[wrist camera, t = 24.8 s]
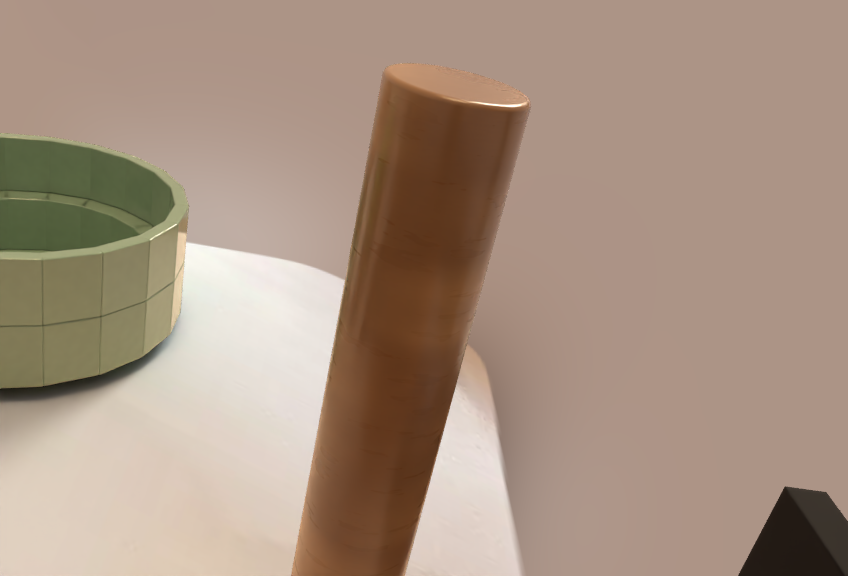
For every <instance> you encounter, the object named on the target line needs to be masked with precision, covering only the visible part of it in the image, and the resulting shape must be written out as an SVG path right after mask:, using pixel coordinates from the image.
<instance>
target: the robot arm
mask: <svg viewBox="0 0 848 576" xmlns="http://www.w3.org/2000/svg"><path fill="white" fill-rule="evenodd" d="M738 576H848V521H847V520H846V518H845V517H844V516H843V514H842V513H841V512H840V510H839V509H838V508H837V506H836V505H835V504H834V502H833V501H832V499H831V498H830V497H829V495H828V494H827V493H826V492H821V491H813V490H806V489H799V488H792V487H784V489H783V491H782V493H781V495H780V497H779V499H778V501H777V503H776V505H775V507H774V508H773V510H772V512H771V514H770V516H769V518H768V520H767V522H766V524H765V525H764V527H763V529H762V531H761V533H760V535H759V537H758V539H757V541H756V543H755V545H754V546H753V548H752V550H751V552H750V554H749V556H748V558H747V560H746V562H745V564H744V565H743V567H742V569H741V571H740V573H739V575H738Z"/></svg>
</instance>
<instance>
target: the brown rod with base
mask: <svg viewBox="0 0 848 576" xmlns="http://www.w3.org/2000/svg"><path fill="white" fill-rule="evenodd" d="M530 108H531V104H530V100H529V98H528V97H527V96H526V95H524V94H523V93H521V92H520V91H518V90H517V89H515V88H513V87H511V86H508V85H506V84H504V83H501V82H499V81H496V80H493V79H490V78H487V77H484V76H480V75H477V74H473V73H470V72H465V71H461V70H457V69H452V68H447V67H441V66H435V65H426V64H414V63H402V64H395V65H390V66H388V67H387V68H385V70H384V72H383V75H382V80H381V86H380V92H379V96H378V102H377V107H376V113H375V118H374V124H373V130H372V135H371V141H370V146H369V151H368V157H367V163H366V169H365V173H364V179H363V185H362V190H361V195H360V201H359V206H358V212H357V217H356V223H355V228H354V234H353V239H352V245H351V250H350V256H349V261H348V267H347V273H346V278H345V283H344V289H343V294H342V299H341V305H340V310H339V316H338V321H337V327H336V332H335V338H334V343H333V349H332V354H331V360H330V365H329V371H328V376H327V382H326V387H325V393H324V398H323V404H322V409H321V415H320V420H319V426H318V431H317V437H316V442H315V448H314V453H313V459H312V464H311V470H310V475H309V481H308V486H307V492H306V497H305V503H304V508H303V513H302V519H301V524H300V530H299V535H298V541H297V546H296V552H295V557H294V563H293V568H292V574H291V576H405V572H406V569H407V565H408V561H409V558H410V554H411V550H412V546H413V543H414V539H415V535H416V532H417V528H418V524H419V520H420V517H421V513H422V509H423V506H424V502H425V498H426V494H427V491H428V487H429V483H430V480H431V476H432V472H433V468H434V465H435V461H436V457H437V454H438V450H439V446H440V442H441V439H442V435H443V431H444V428H445V424H446V420H447V416H448V413H449V409H450V405H451V402H452V398H453V394H454V390H455V387H456V383H457V379H458V376H459V372H460V368H461V364H462V361H463V357H464V353H465V350H466V346H467V342H468V338H469V335H470V331H471V327H472V323H473V320H474V316H475V312H476V308H477V305H478V301H479V297H480V294H481V290H482V286H483V283H484V279H485V275H486V271H487V268H488V264H489V260H490V257H491V253H492V249H493V245H494V242H495V238H496V234H497V231H498V227H499V223H500V219H501V216H502V212H503V208H504V205H505V201H506V197H507V193H508V190H509V186H510V182H511V179H512V175H513V171H514V167H515V163H516V160H517V156H518V152H519V149H520V145H521V141H522V138H523V134H524V130H525V127H526V123H527V119H528V115H529V112H530Z"/></svg>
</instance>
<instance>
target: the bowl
mask: <svg viewBox="0 0 848 576" xmlns="http://www.w3.org/2000/svg"><path fill="white" fill-rule="evenodd" d="M188 211H189V205H188V201H187V198H186V194H185V191H184V188H183V187H182V186H181V185H180V184H179V183H178V182H177V181H176V180H175V179H173V178H172V177H171V176H170V175H169V174H168V173H167V172H166V171H164V170H162V169H160V168H158V167H156V166H154V165H152V164H150V163H148V162H145V161H144V160H142V159H139V158H137V157H135V156H132V155H129V154H125V153H122V152H118V151H115V150H112V149H109V148H105V147H102V146H99V145H94V144H89V143H83V142H77V141H72V140H66V139H61V138H55V137H46V136H34V135H22V134H9V133H4V134H3V133H0V388H22V387H42V386H48V385H53V384H57V383H62V382H67V381H72V380H77V379H82V378H87V377H92V376H97V375H101V374H104V373H106V372H108V371H111V370H113V369H116V368H118V367H120V366H123V365H125V364H127V363H130V362H132V361H135V360H137V359H139V358H142V356H144V355H146V354H147V353H148V352H149V351H150V350H152V349H153V348H154V347H155V346H157V345H158V344H159V343H160V342H162V341H163V340H164V339H165V338H167V337H168V336H169V335H170V334H171V331H172V329H173V327H174V325H175V323H176V321H177V318H178V316H179V314H180V310H181V298H182V286H183V273H184V260H185V249H186V237H187V223H188Z"/></svg>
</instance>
